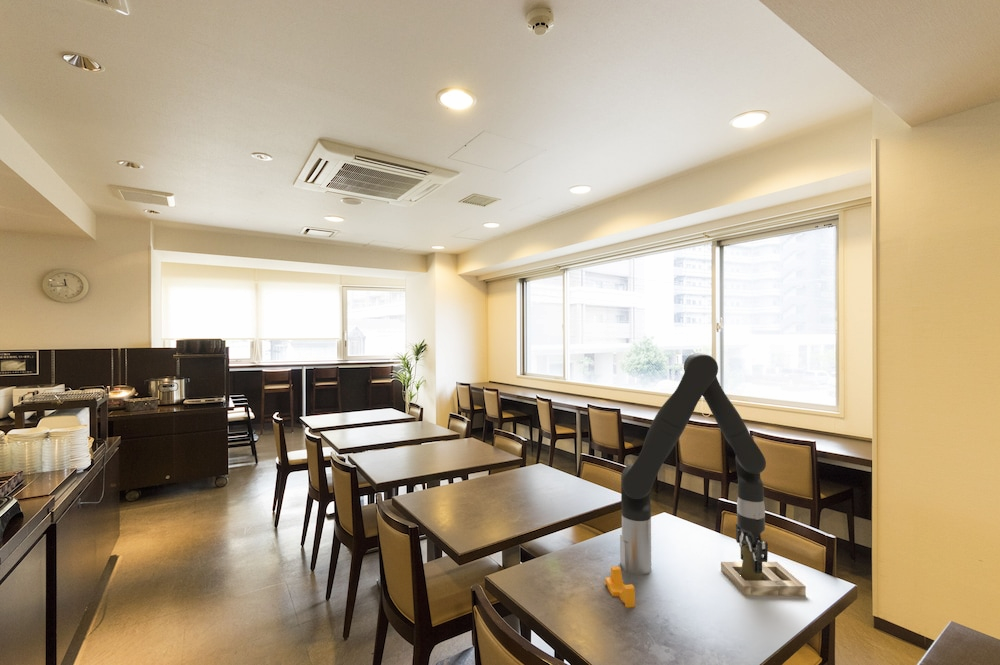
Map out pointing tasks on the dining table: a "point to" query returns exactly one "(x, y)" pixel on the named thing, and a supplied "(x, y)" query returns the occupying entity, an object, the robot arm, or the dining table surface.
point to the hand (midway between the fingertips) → (751, 566)
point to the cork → (749, 565)
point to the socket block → (765, 580)
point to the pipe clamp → (620, 587)
